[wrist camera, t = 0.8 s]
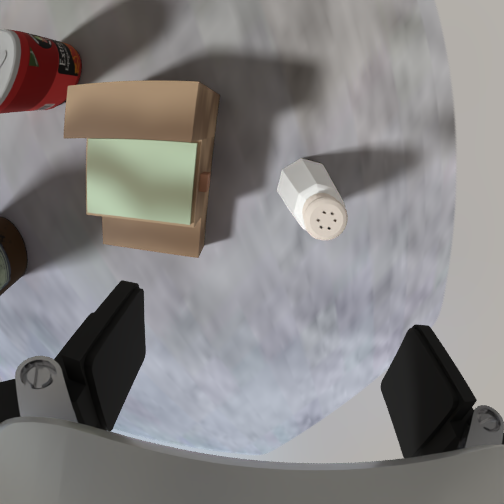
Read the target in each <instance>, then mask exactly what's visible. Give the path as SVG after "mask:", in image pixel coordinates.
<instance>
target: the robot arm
mask: <svg viewBox="0 0 504 504" xmlns="http://www.w3.org/2000/svg"><path fill="white" fill-rule="evenodd" d="M145 353H146V346H145V324H144V291H143V289H140V288H139V285H138V284H137V283H132V282H128V281H121V282H120V283H119V284H118V285H117V286H116V287H115V288H114V290H113V291H112V292H111V293H110V294H109V296H108V297H107V298H106V299H105V300H104V302H103V303H102V304H101V305H100V306H99V308H98V309H97V310H96V311H95V312H94V313H91V314H90V315H89V316H88V317H87V318H86V320H85V321H84V322H83V323H82V325H81V326H80V327H79V328H78V330H77V331H76V332H75V333H74V335H73V336H72V337H71V338H70V340H69V341H68V342H67V343H66V345H65V346H64V347H63V349H62V350H61V351H60V352H59V354H58V355H57V356H56V358H55V359H52V358H50V357H45V356H35V357H31V358H28V359H27V360H25V361H23V362H22V363H21V364H20V365H19V366H18V368H17V370H16V374H15V379H12V380H8V381H4V382H0V504H504V433H503V432H504V422H503V419H502V417H501V416H500V414H499V413H498V412H497V411H496V410H494V409H493V408H491V407H489V406H486V405H481V406H478V407H477V408H476V409H475V410H473V408H472V406H473V405H474V404H475V402H476V398H475V396H474V395H473V393H472V391H471V390H470V388H469V387H468V385H467V383H466V381H465V380H464V378H463V377H462V375H461V373H460V372H459V370H458V368H457V367H456V366H455V364H454V362H453V361H452V359H451V358H450V356H449V354H448V353H447V351H446V350H445V348H444V347H443V346H442V344H441V342H440V341H439V339H438V338H437V337H436V335H435V333H434V332H433V331H432V329H431V328H430V327H429V326H426V325H414V326H413V327H412V328H410V329H409V330H408V331H407V333H406V335H405V337H404V340H403V342H402V344H401V346H400V348H399V350H398V352H397V354H396V356H395V358H394V359H393V361H392V363H391V365H390V367H389V369H388V371H387V373H386V375H385V376H384V378H383V380H382V383H381V391H382V394H383V397H384V400H385V402H386V405H387V408H388V411H389V414H390V417H391V420H392V423H393V426H394V429H395V432H396V435H397V438H398V441H399V444H400V447H401V451H402V454H403V457H404V459H396V460H385V461H374V462H359V463H330V464H328V463H327V464H317V463H316V464H315V463H313V464H312V463H284V462H269V461H257V460H247V459H238V458H230V457H222V456H216V455H209V454H204V453H198V452H192V451H187V450H182V449H178V448H173V447H168V446H163V445H159V444H155V443H151V442H146V441H142V440H139V439H135V438H131V437H127V436H124V435H120V434H117V433H113V432H110V431H111V430H112V429H113V427H114V424H115V422H116V420H117V418H118V415H119V413H120V411H121V409H122V406H123V404H124V402H125V400H126V397H127V395H128V393H129V391H130V389H131V386H132V384H133V382H134V380H135V378H136V376H137V373H138V371H139V369H140V367H141V365H142V363H143V361H144V358H145Z"/></svg>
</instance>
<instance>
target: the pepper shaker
mask: <svg viewBox="0 0 504 504" xmlns="http://www.w3.org/2000/svg"><path fill="white" fill-rule="evenodd" d="M277 191H278V193H279V195H280V196H281V198H282V199H283V201H284V203H285V204H286V206H287V207H288V209H289V210H290V212H291V213H292V215H293V216H294V217H295V219H296V220H297V222H298V223H299V224H300V226H301V227H302V228H303V229H304V230H307V232H308V233H309V234H310V235H311V236H312V237H314V238H316V239H319V240H331V239H334V238H336V237H337V236H339V235H340V234H341V233H342V232H343V230H344V229H345V227H346V224H347V217H348V216H347V211H346V209H345V204H344V202H343V200H342V198H341V196H340V194H339V192H338V191H337V189H336V187H335V185H334V183H333V182H332V180H331V178H330V176H329V174H328V173H327V171H326V169H325V167H324V166H323V164H321V163H317V162H314V161H310V160H306V159H302V158H301V159H299V160H297V161H296V162H294V163H292V164H290V165H289V166H287V167H285V168H284V169H282V172H281V176H280V180H279V184H278V188H277Z"/></svg>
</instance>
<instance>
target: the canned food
mask: <svg viewBox="0 0 504 504" xmlns="http://www.w3.org/2000/svg"><path fill="white" fill-rule="evenodd" d="M81 67H82V65H81V59H80V56H79V54H78V52H77V51H76V50H75V49H74V48H73V47H72V46H71V45H69V44H66V43H63V42H59V41H56V40H52V39H48V38H45V37H41V36H37V35H33V34H29V33H24V32H20V31H14V30H0V113H9V112H20V111H34V110H48V109H52V108H54V107H56V106H58V105H60V104H62V103H63V102H64V101H66V99H67V89H68V86H71V85H77V84H78V81H79V79H80V75H81Z"/></svg>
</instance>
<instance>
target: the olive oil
mask: <svg viewBox="0 0 504 504" xmlns="http://www.w3.org/2000/svg"><path fill="white" fill-rule="evenodd" d="M26 267H27V253H26V248H25V245H24V242H23V239H22V237H21V235H20V233H19V232H18V230H17V229H16V227H15V226H14V225H13V224H12V223H11V222H10V221H9V220H7V219H5V218H3V217H0V296H1V295H2V294H3V293H4V292H5V291H6V290H7V289H8V288H9V287H10V286H11V285H13V284H14V283H15V282H16V281H17V280H18V279H19V278H20V277H21V276H22V275H23V274H24V273H25V270H26Z"/></svg>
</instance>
